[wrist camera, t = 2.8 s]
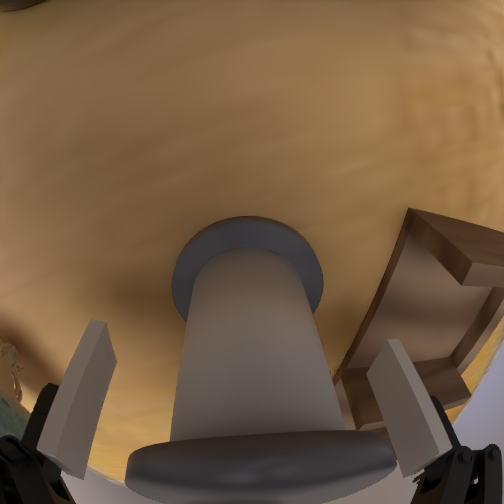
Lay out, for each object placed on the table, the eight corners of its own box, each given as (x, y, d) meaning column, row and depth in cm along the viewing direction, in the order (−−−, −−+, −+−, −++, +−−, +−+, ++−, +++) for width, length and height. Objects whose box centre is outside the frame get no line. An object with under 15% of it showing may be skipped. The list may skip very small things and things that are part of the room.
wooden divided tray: (408, 207, 15) (472, 262, 9) (518, 237, 16) (562, 275, 11) (298, 434, 28) (305, 478, 22) (397, 419, 29) (410, 456, 24)
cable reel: (175, 208, 14) (82, 442, 4) (335, 225, 15) (452, 428, 5) (176, 329, 18) (149, 505, 8) (300, 337, 19) (336, 503, 9)
